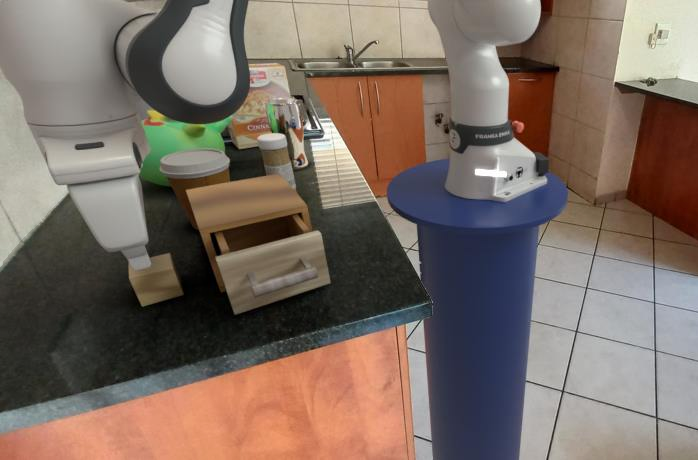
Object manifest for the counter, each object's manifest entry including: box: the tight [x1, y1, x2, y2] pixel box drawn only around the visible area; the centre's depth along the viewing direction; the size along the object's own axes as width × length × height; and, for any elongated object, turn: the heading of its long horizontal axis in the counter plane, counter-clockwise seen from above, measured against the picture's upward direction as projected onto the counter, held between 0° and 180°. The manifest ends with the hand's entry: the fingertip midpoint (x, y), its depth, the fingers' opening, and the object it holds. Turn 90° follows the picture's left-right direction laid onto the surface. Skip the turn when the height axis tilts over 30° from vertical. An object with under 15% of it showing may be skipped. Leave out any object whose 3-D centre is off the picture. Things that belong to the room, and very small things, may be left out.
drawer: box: [213, 213, 332, 316], centre depth 57 cm, size 18×12×8 cm, turn 39°
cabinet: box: [186, 173, 313, 293], centre depth 64 cm, size 15×13×10 cm
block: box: [127, 252, 185, 308], centre depth 56 cm, size 4×4×4 cm
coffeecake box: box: [227, 62, 292, 150], centre depth 110 cm, size 15×7×20 cm, turn 132°
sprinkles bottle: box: [257, 133, 298, 194], centre depth 79 cm, size 5×5×14 cm
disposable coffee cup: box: [159, 148, 231, 231], centre depth 72 cm, size 10×10×12 cm
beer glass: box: [265, 97, 310, 171], centre depth 96 cm, size 7×7×15 cm
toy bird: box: [139, 110, 233, 187], centre depth 86 cm, size 18×17×15 cm
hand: (141, 249), depth 53 cm, fingers open, 8 cm apart
